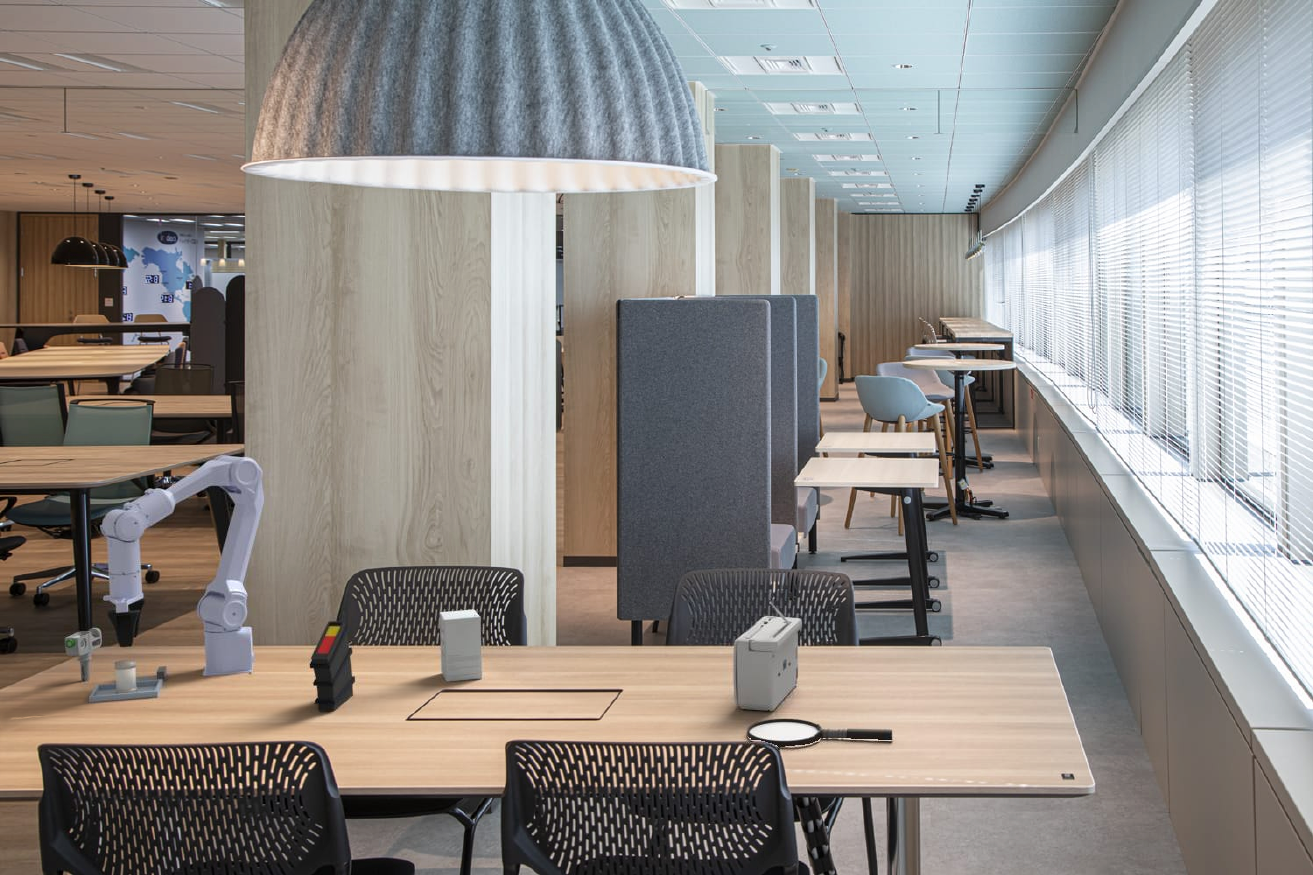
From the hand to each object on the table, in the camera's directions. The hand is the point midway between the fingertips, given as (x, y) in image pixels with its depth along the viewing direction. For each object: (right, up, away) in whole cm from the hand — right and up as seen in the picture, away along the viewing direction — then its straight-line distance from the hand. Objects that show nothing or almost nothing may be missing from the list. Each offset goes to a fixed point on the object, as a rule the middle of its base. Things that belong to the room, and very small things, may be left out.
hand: (128, 641), depth 247 cm
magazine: (+42, -10, -10) cm, 44 cm away
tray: (0, -10, -2) cm, 10 cm away
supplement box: (+63, -9, +9) cm, 64 cm away
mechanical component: (-12, -10, +8) cm, 18 cm away
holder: (0, -9, +8) cm, 12 cm away
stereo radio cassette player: (+123, -9, -9) cm, 123 cm away
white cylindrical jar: (0, -10, -2) cm, 10 cm away
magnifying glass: (+129, -11, -33) cm, 133 cm away
